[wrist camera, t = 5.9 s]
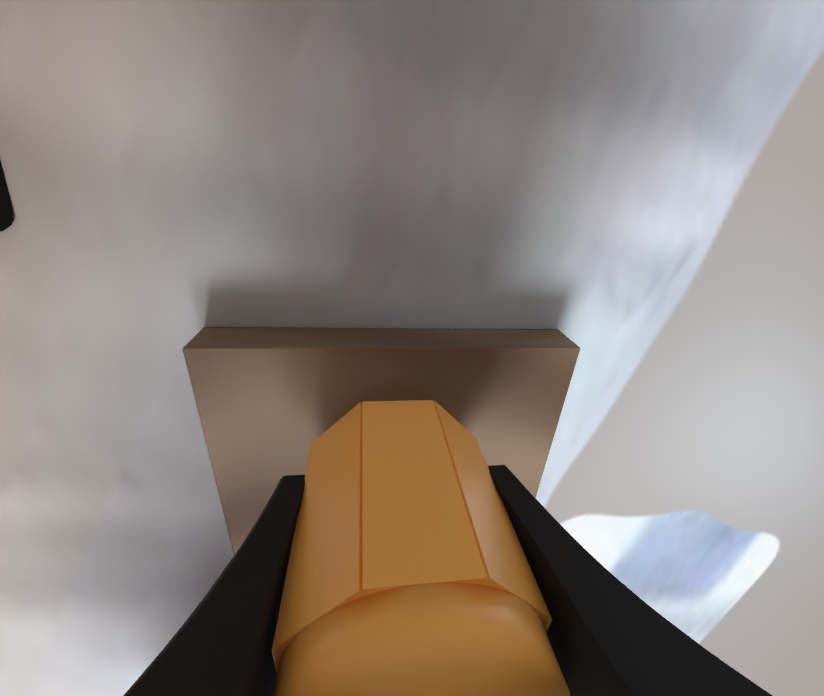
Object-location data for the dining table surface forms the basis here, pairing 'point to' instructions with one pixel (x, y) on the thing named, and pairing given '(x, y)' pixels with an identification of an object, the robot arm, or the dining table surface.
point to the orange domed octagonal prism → (408, 569)
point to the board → (367, 396)
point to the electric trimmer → (5, 204)
